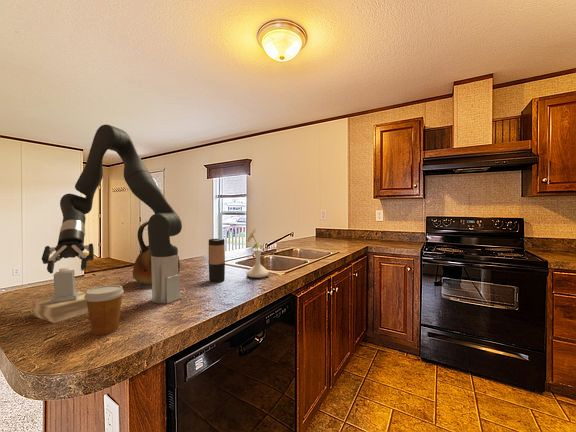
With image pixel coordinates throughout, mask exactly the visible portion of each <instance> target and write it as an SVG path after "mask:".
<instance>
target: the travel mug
mask: <svg viewBox="0 0 576 432" xmlns="http://www.w3.org/2000/svg"><path fill="white" fill-rule="evenodd" d="M225 245H226V244H225V239H224V238H222V239H219V238H210V239H208V276H209V277H208V278H209V279H208V280H209V283H216V284H217V283H222V282H224V281H225V277H226V275H225V274H226V273H225V272H226V271H225V270H226V263H225V262H226V256H225V255H226V252H225V251H226V247H225Z"/></svg>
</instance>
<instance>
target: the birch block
mask: <svg viewBox="0 0 576 432" xmlns="http://www.w3.org/2000/svg"><path fill="white" fill-rule="evenodd" d="M77 291H78V292H79V295H78V297H77V299H74V300H68V301H62V302H55V303H51V299H52V298H53V296H52V297H49V298H43V299H40V300H35V301H32V317H35V318H39V319H42V320H45V321H48V322H51V323H53V324H55V323H58V322H62V321H65V320H68V319H72V318H74V317H77V316H80V315H85V314H87V313H89V312H88V307H87V301H86V300H85V298H84V296H85V295H86V292H83V291H79V290H77Z"/></svg>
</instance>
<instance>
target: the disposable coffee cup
mask: <svg viewBox="0 0 576 432" xmlns="http://www.w3.org/2000/svg"><path fill="white" fill-rule="evenodd" d="M85 293H86V295H85V296H84V298H85V300H86V301H87V307H88V312H87V313H88V316H89V317H88V318H89V323H90V327H91V334H92V335H95V336H104V335H108V333H109V334H111V333H114V332H115V331H117V330H119V325H120V317H121V316H120V315H121V308H122V300H123V295H124V293H125V290H124V289H123V286H122V285H119V284H108V285H101V286H96V287H91V288H89V289H87V290H86V292H85Z"/></svg>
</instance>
